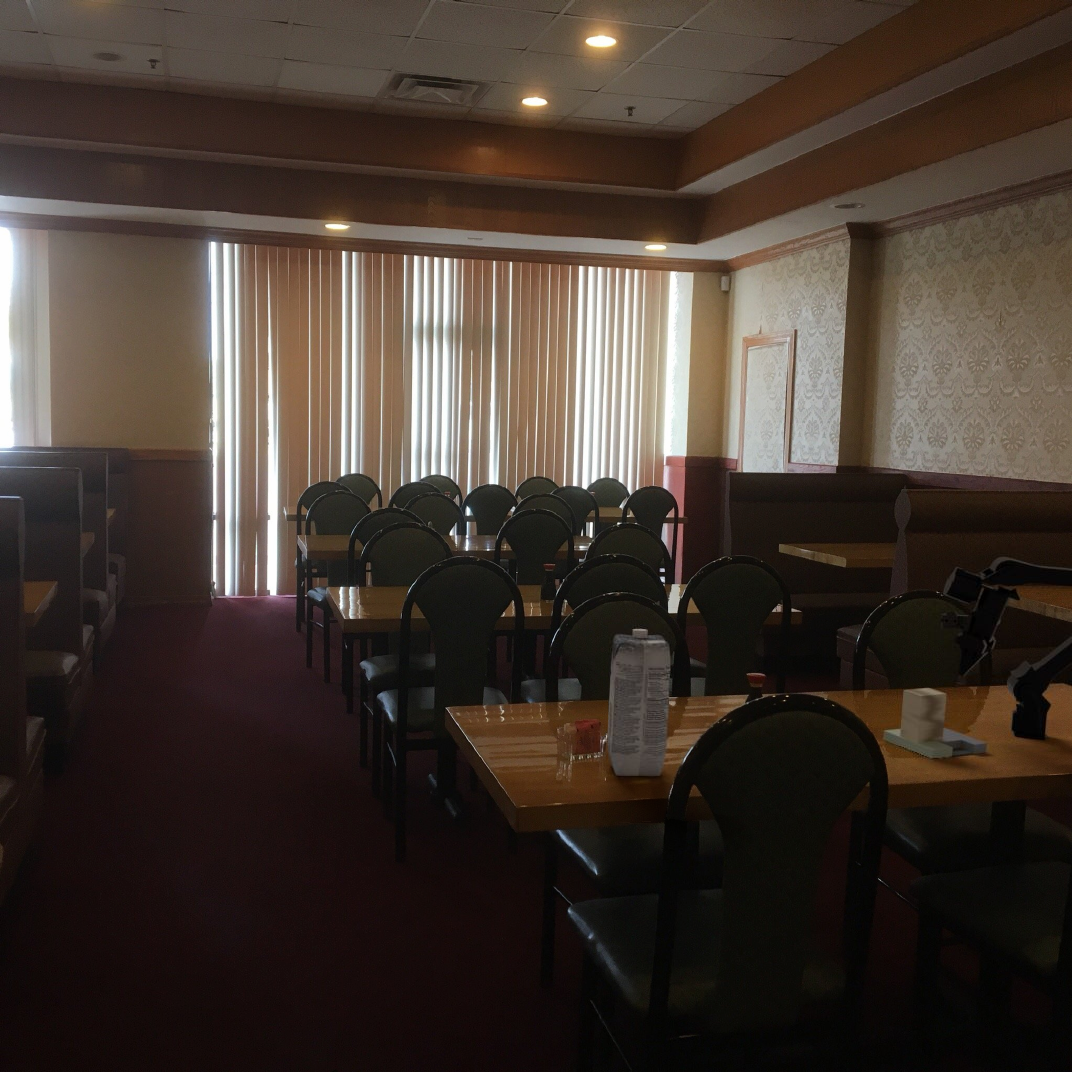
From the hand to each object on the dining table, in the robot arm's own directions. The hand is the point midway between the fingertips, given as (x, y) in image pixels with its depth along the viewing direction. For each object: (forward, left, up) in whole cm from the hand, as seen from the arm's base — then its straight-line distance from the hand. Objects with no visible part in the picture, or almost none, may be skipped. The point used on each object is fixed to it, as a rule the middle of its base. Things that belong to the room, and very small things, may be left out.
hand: (960, 675), depth 244 cm
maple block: (+7, +20, -10) cm, 23 cm away
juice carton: (+58, +63, -12) cm, 86 cm away
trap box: (+5, +17, -12) cm, 22 cm away
